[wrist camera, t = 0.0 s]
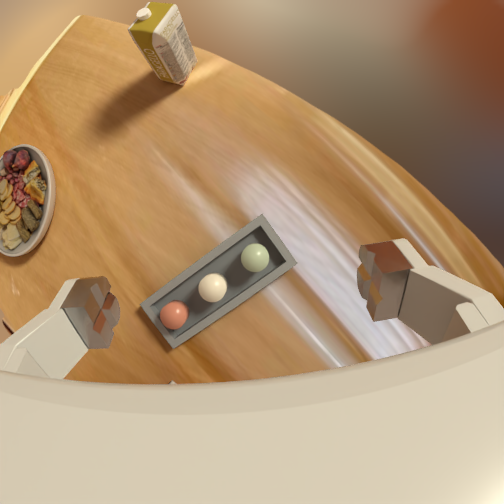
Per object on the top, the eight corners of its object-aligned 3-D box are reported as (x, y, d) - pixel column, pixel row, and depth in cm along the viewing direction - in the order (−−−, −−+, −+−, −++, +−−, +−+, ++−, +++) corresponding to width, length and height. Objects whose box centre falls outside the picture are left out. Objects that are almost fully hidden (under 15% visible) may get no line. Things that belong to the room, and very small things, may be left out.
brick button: (194, 315, 61) (190, 320, 57) (175, 328, 62) (170, 334, 58) (179, 295, 61) (174, 299, 57) (160, 308, 61) (155, 313, 57)
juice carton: (174, 53, 61) (145, -6, 37) (202, 59, 61) (181, -3, 37) (156, 83, 61) (118, 29, 37) (185, 90, 61) (154, 33, 37)
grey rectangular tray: (295, 261, 64) (297, 263, 60) (177, 342, 65) (173, 348, 62) (261, 214, 63) (262, 213, 59) (145, 300, 65) (139, 304, 61)
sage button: (273, 259, 60) (274, 261, 56) (252, 274, 60) (251, 277, 56) (258, 237, 60) (258, 238, 56) (236, 253, 60) (235, 254, 56)
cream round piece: (232, 288, 61) (231, 292, 57) (212, 302, 61) (209, 307, 57) (217, 267, 61) (214, 269, 57) (197, 282, 61) (193, 285, 57)
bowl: (69, 240, 65) (51, 241, 57) (1, 265, 66) (-16, 267, 58) (57, 131, 63) (40, 123, 55) (-8, 170, 64) (-25, 167, 56)
